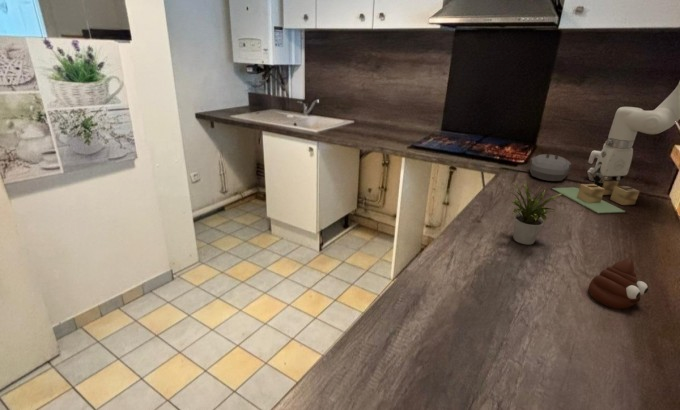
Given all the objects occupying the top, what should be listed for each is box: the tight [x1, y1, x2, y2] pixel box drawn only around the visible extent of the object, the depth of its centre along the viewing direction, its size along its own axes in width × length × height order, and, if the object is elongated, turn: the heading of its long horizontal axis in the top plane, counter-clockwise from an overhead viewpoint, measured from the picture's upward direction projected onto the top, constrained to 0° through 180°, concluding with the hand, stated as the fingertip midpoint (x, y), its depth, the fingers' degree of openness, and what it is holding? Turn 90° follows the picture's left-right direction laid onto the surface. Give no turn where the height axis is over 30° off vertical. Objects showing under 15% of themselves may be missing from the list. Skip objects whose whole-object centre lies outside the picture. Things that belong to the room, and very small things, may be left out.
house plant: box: [505, 180, 564, 246], centre depth 95 cm, size 14×14×16 cm
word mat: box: [551, 186, 626, 215], centre depth 125 cm, size 10×22×1 cm, turn 8°
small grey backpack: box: [529, 153, 572, 182], centre depth 148 cm, size 15×8×20 cm
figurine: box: [587, 143, 609, 182], centre depth 142 cm, size 7×9×15 cm
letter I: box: [577, 183, 605, 203], centre depth 123 cm, size 5×5×5 cm
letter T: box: [609, 185, 641, 206], centre depth 123 cm, size 5×5×5 cm
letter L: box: [593, 176, 619, 196], centre depth 131 cm, size 5×5×5 cm
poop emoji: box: [588, 257, 649, 310], centre depth 73 cm, size 10×8×9 cm
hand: (603, 191), depth 132 cm, fingers closed on letter L, 5 cm apart
